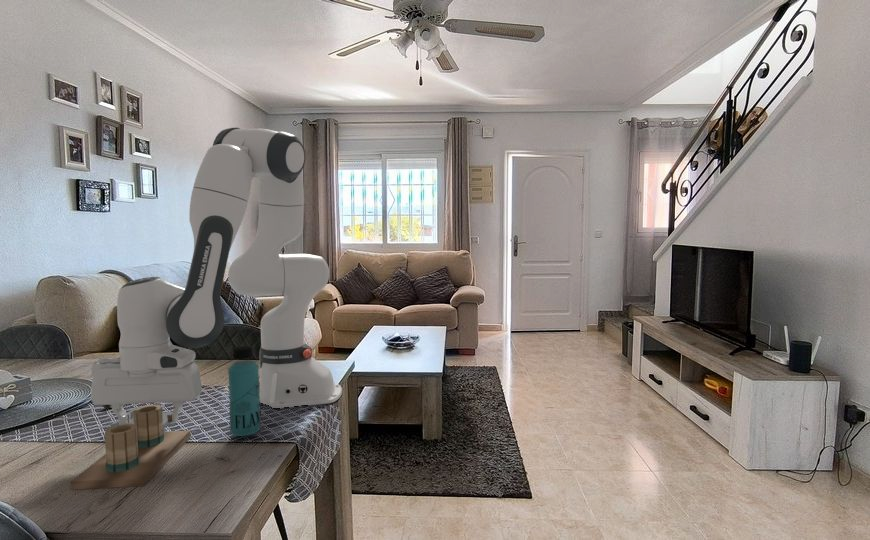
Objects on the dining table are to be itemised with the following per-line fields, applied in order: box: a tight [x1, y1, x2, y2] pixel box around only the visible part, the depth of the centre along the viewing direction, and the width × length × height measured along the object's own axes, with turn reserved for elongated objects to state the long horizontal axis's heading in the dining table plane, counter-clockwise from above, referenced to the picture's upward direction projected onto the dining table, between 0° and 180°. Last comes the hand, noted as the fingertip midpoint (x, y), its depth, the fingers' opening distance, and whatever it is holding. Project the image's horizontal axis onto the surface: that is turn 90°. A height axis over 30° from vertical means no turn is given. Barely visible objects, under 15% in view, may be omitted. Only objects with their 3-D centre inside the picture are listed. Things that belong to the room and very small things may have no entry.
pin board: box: [70, 430, 191, 491], centre depth 92 cm, size 12×20×6 cm, turn 6°
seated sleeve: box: [104, 424, 140, 473], centre depth 87 cm, size 5×5×7 cm
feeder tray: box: [110, 407, 171, 430], centre depth 110 cm, size 10×10×2 cm
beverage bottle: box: [227, 345, 262, 437], centre depth 102 cm, size 6×7×20 cm
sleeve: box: [133, 404, 165, 448], centre depth 97 cm, size 5×5×7 cm
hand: (149, 422), depth 97 cm, fingers open, 8 cm apart
